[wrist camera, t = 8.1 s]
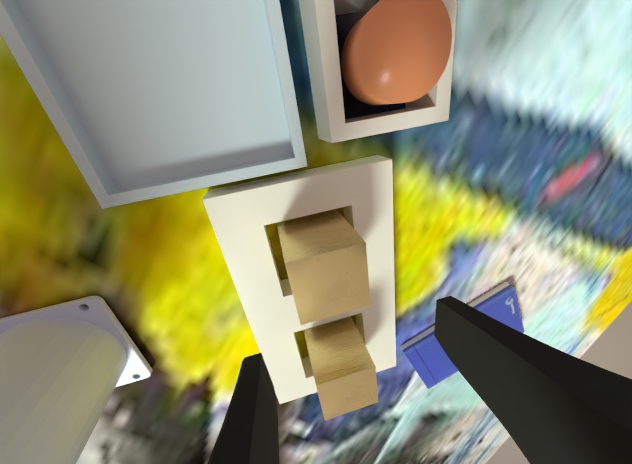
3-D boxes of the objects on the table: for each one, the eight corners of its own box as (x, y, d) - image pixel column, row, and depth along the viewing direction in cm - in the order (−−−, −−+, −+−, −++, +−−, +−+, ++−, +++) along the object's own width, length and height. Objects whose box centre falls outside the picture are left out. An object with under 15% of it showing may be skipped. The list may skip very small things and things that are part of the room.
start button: (345, 111, 13) (366, 109, 11) (336, 16, 12) (358, -10, 9) (413, 98, 14) (447, 95, 11) (415, 6, 12) (456, -22, 10)
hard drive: (515, 286, 24) (404, 354, 25) (525, 333, 28) (429, 391, 28) (501, 277, 25) (396, 341, 26) (512, 323, 29) (421, 378, 30)
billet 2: (308, 349, 23) (325, 420, 17) (300, 317, 21) (316, 385, 16) (349, 336, 23) (378, 401, 18) (345, 304, 22) (375, 366, 16)
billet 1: (287, 265, 19) (300, 325, 13) (275, 217, 17) (284, 263, 12) (338, 252, 19) (370, 304, 14) (331, 203, 17) (365, 242, 12)
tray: (116, 200, 14) (101, 208, 13) (-34, -75, 9) (-82, -107, 8) (302, 162, 16) (307, 166, 14) (257, -95, 11) (258, -124, 9)
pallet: (278, 382, 24) (280, 404, 22) (208, 190, 15) (202, 199, 13) (386, 348, 25) (396, 365, 23) (377, 154, 17) (392, 159, 15)
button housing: (318, 138, 15) (331, 143, 13) (298, -2, 12) (310, -34, 10) (416, 119, 16) (448, 120, 14) (419, -16, 13) (461, -49, 11)
